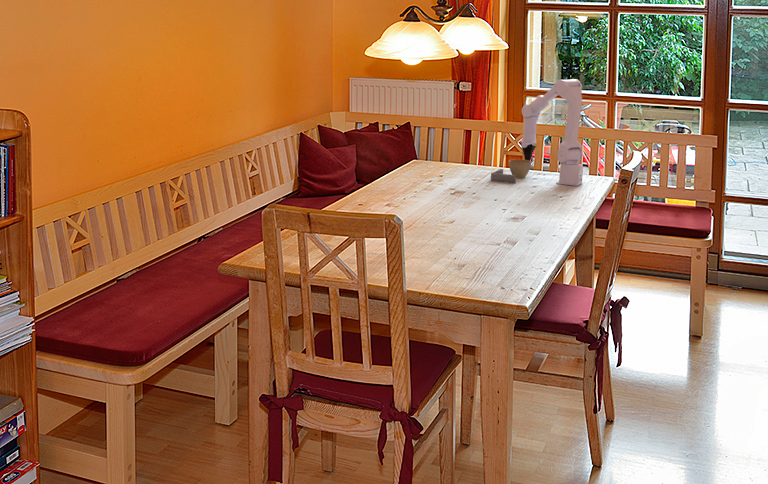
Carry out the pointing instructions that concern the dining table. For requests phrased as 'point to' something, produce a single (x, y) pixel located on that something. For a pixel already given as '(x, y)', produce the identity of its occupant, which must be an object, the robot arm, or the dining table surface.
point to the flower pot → (519, 167)
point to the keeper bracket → (502, 177)
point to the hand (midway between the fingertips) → (527, 161)
